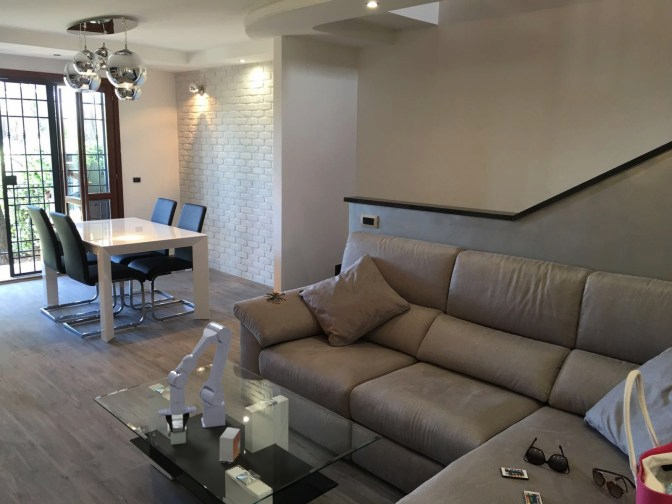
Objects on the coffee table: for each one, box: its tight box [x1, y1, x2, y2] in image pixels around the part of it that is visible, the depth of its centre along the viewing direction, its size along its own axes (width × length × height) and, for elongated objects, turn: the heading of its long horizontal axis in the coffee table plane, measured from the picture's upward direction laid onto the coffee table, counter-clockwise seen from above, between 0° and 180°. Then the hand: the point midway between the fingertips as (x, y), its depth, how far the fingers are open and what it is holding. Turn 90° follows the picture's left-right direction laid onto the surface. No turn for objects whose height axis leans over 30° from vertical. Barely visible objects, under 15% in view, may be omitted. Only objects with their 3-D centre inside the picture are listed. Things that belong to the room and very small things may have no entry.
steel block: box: [171, 420, 184, 434], centre depth 229 cm, size 4×6×5 cm, turn 19°
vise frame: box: [166, 421, 188, 446], centre depth 233 cm, size 7×16×4 cm, turn 19°
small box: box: [219, 426, 241, 462], centre depth 217 cm, size 8×6×10 cm
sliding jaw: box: [172, 414, 183, 422], centre depth 238 cm, size 6×4×4 cm, turn 109°
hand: (177, 430), depth 230 cm, fingers closed on steel block, 4 cm apart
